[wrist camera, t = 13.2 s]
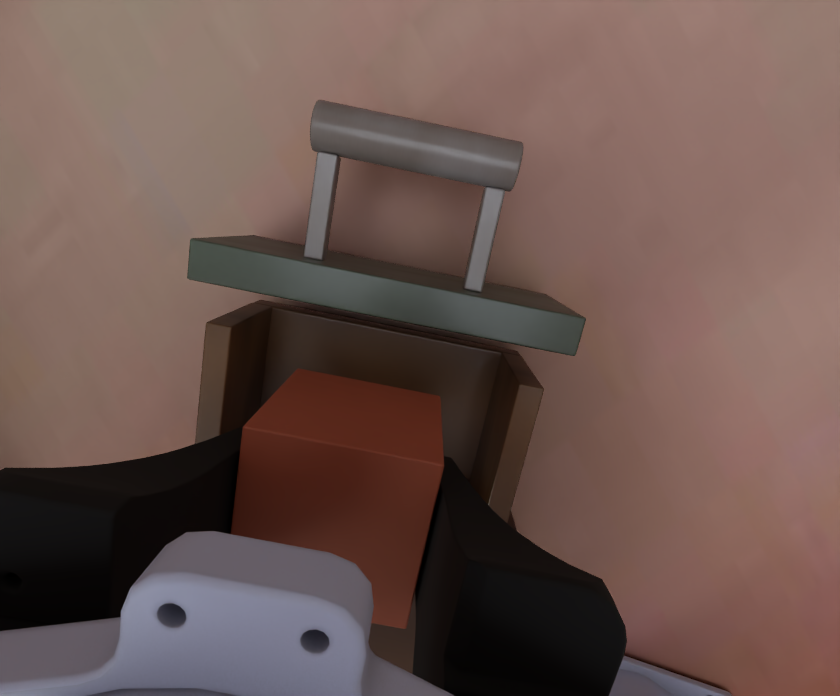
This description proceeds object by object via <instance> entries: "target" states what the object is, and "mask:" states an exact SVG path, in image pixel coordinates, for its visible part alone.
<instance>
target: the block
mask: <svg viewBox="0 0 840 696" xmlns="http://www.w3.org/2000/svg"><path fill="white" fill-rule="evenodd" d="M443 469H444V453H443V435H442V416H441V398H440V396H438V395H433V394H427V393H422V392H417V391H412V390H407V389H402V388H397V387H392V386H387V385H381V384H376V383H371V382H366V381H361V380H356V379H351V378H346V377H341V376H335V375H330V374H325V373H320V372H315V371H310V370H305V369H300V368H298V369H297V370H296V371H295V372H294V373H293V374H292V375H291V376H290V377H289V378H288V379H287V380H286V381H285V382H284V383H283V384H282V386H281V387H280V388H279V389H278V390H277V391H276V392H275V393H274V394H273V395H272V396H271V397H270V398H269V399H268V400H267V402H266V403H265V404H264V405H263V406H262V407H261V408H260V409H259V410H258V411H257V412H256V413H255V414H254V415H253V416H252V418H251V419H250V420H249V421H248V422H247V423H246V424H245V425H244V426H243V430H242V438H241V447H240V455H239V464H238V473H237V481H236V490H235V499H234V507H233V516H232V524H231V533H230V534H233V535H238V536H243V537H249V538H254V539H259V540H265V541H270V542H276V543H281V544H286V545H292V546H297V547H302V548H308V549H313V550H319V551H324V552H329V553H332V554H334V555H337V556H339V557H341V558H344V559H346V560H348V561H351V562H353V563H355V564H356V565H357V566H358V567H359V569H360V570H361V571H362V572H363V574H364V575H365V576H366V577H367V579H368V580H369V581H370V582H371V585H372V595H373V604H374V608H373V614H372V621H371V623H375V624H380V625H386V626H391V627H396V628H402V629H406V627H407V624H408V620H409V615H410V611H411V607H412V602H413V598H414V594H415V590H416V585H417V581H418V577H419V572H420V568H421V564H422V559H423V555H424V551H425V546H426V542H427V538H428V534H429V529H430V525H431V521H432V516H433V512H434V508H435V503H436V499H437V495H438V490H439V486H440V482H441V478H442V473H443Z"/></svg>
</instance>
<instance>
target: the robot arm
mask: <svg viewBox="0 0 840 696" xmlns="http://www.w3.org/2000/svg"><path fill="white" fill-rule="evenodd" d="M242 430H243V426H242V427H239V428H237V429H234V430H232V431H229V432H227V433H224V434H221V435H219V436H216V437H214V438H211V439H208V440H205V441H202V442H200V443H197V444H194V445H191V446H188V447H185V448H182V449H178V450H175V451H171V452H168V453H164V454H159V455H155V456H151V457H146V458H141V459H135V460H129V461H123V462H116V463H110V464H102V465H92V466H79V467H63V468H4V469H2V470H1V471H0V696H732V695H731V693H729V692H727V691H725V690H722V689H719V688H716V687H713V686H710V685H707V684H704V683H702V682H699V681H696V680H693V679H690V678H687V677H684V676H681V675H679V674H676V673H673V672H670V671H667V670H664V669H661V668H658V667H656V666H653V665H650V664H647V663H644V662H641V661H638V660H635V659H633V658H630V657H627V656H624V653H625V648H626V643H627V638H626V629H625V625H624V623H623V620H622V618H621V616H620V614H619V612H618V610H617V607H616V605H615V603H614V601H613V598H612V596H611V595H610V593H609V591H608V589H607V587H606V585H605V584H604V582H603V580H602V579H600V578H598V577H596V576H594V575H591V574H589V573H587V572H585V571H582V570H580V569H578V568H576V567H574V566H571V565H569V564H567V563H565V562H564V561H562V560H560V559H558V558H557V557H555V556H553V555H551V554H549V553H548V552H546V551H545V550H543V549H541V548H540V547H538V546H537V545H535V544H534V543H532V542H531V541H529V540H528V539H527V538H525V537H524V536H522V535H521V534H520V533H518V532H517V531H516V530H515V529H513V528H512V527H511V526H510V525H509V524H508V523H506V522H505V521H504V520H503V519H502V518H501V517H500V516H499V515H498V514H497V513H496V512H494V511H493V510H492V508H491V507H490V506H489V505H488V504H487V503H486V502H485V501H484V500H483V499H482V498H481V496H480V495H479V494H478V493H477V492H476V490H475V489H474V488H473V487H472V485H471V484H470V483H469V481H468V480H467V479H466V477H465V476H464V475H463V473H462V472H461V470H460V469H459V468H458V466H457V465H456V463H455V462H454V460H453V459H452V458H451V457H446V456H444V469H443V473H442V478H441V482H440V486H439V490H438V495H437V499H436V503H435V508H434V512H433V516H432V521H431V525H430V529H429V534H428V538H427V542H426V546H425V551H424V555H423V559H422V564H421V568H420V572H419V577H418V581H417V585H416V590H415V604H416V630H415V644H414V657H413V670H412V674H411V673H409V672H407V671H405V670H403V669H401V668H399V667H397V666H395V665H393V664H391V663H389V662H387V661H386V660H384V659H382V658H380V657H378V656H376V655H375V654H374V653H373V652H372V650H371V649H370V646H369V643H368V641H369V634H370V628H371V621H372V614H373V608H374V604H373V595H372V585H371V582H370V581H369V580H368V579H367V577H366V576H365V575H364V574H363V572H362V571H361V570H360V569H359V567H358V566H357V565H356V564H355V563H353V562H351V561H348V560H346V559H344V558H341V557H339V556H337V555H334V554H332V553H329V552H324V551H319V550H313V549H308V548H302V547H297V546H292V545H286V544H281V543H276V542H270V541H265V540H259V539H254V538H249V537H243V536H238V535H233V534H230V533H231V524H232V516H233V507H234V499H235V490H236V481H237V473H238V464H239V455H240V447H241V438H242Z"/></svg>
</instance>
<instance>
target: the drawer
mask: <svg viewBox="0 0 840 696" xmlns="http://www.w3.org/2000/svg"><path fill="white" fill-rule="evenodd" d="M310 141H311V146H312V149H313V150H314V151H315V152H318V153H317V160H316V167H315V175H314V182H313V189H312V196H311V204H310V211H309V218H308V226H307V233H306V240H305V245H300V244H295V243H290V242H285V241H280V240H275V239H270V238H265V237H260V236H255V235H249V236H229V237H209V238H192V239H191V240H190V250H189V263H188V275H187V278H188V279H190V280H195V281H200V282H205V283H210V284H215V285H220V286H225V287H230V288H235V289H240V290H245V291H250V292H255V293H260V294H265V295H270V296H275V297H280V298H285V299H290V300H295V301H300V302H305V303H310V304H315V305H320V306H325V307H330V308H335V309H340V310H345V311H350V312H355V313H360V314H365V315H370V316H375V317H380V318H385V319H390V320H395V321H400V322H405V323H410V324H415V325H420V326H425V327H430V328H435V329H440V330H445V331H450V332H455V333H460V334H465V335H470V336H475V337H480V338H485V339H490V340H495V341H500V342H505V343H510V344H515V345H520V346H525V347H530V348H535V349H540V350H545V351H551V352H556V353H561V354H566V355H571V356H575V355H576V352H577V349H578V345H579V342H580V338H581V335H582V331H583V328H584V324H585V321H586V318H585V317H583V316H581V315H580V314H578V313H576V312H575V311H573V310H571V309H570V308H568V307H566V306H565V305H563V304H561V303H560V302H558V301H556V300H554V299H553V298H551V297H549V296H548V295H546V294H542V293H537V292H532V291H527V290H522V289H517V288H512V287H507V286H502V285H497V284H493V283H488V282H484V281H485V277H486V272H487V268H488V264H489V259H490V255H491V251H492V246H493V242H494V238H495V233H496V229H497V225H498V220H499V216H500V212H501V207H502V203H503V199H504V194H505V191H508V192H510V191H511V190H512V189H513V187H514V185H515V182H516V179H517V176H518V173H519V169H520V165H521V160H522V155H523V143H522V142H519V141H514V140H509V139H505V138H500V137H495V136H490V135H486V134H481V133H476V132H471V131H467V130H462V129H457V128H452V127H448V126H443V125H438V124H433V123H429V122H424V121H419V120H414V119H410V118H405V117H400V116H395V115H390V114H386V113H381V112H376V111H371V110H367V109H362V108H357V107H352V106H348V105H343V104H338V103H333V102H329V101H324V100H318V101H317V102H316V104H315V106H314V109H313V113H312V118H311V126H310ZM338 156H339V157H338ZM340 157H344V158H349V159H354V160H359V161H363V162H368V163H373V164H378V165H383V166H388V167H392V168H397V169H402V170H407V171H412V172H416V173H421V174H426V175H431V176H436V177H441V178H445V179H450V180H455V181H460V182H465V183H470V184H474V185H479V186H484V187H485V188H484V190H483V194H482V198H481V203H480V207H479V212H478V217H477V221H476V226H475V230H474V235H473V239H472V244H471V248H470V253H469V257H468V262H467V267H466V271H465V276H464V278H463V277H458V276H453V275H448V274H443V273H438V272H433V271H428V270H423V269H418V268H413V267H409V266H404V265H399V264H394V263H389V262H384V261H379V260H374V259H369V258H364V257H359V256H354V255H349V254H344V253H339V252H334V251H330V250H327V249H328V242H329V236H330V229H331V222H332V215H333V209H334V202H335V195H336V188H337V182H338V175H339V168H340V161H341V158H340ZM298 368H300V369H305V370H310V371H315V372H320V373H325V374H330V375H335V376H341V377H346V378H351V379H356V380H361V381H366V382H371V383H376V384H381V385H387V386H392V387H397V388H402V389H407V390H412V391H417V392H422V393H427V394H433V395H438V396H440V398H441V416H442V435H443V453H444V456H446V457H451V458H452V459H453V460H454V462H455V463H456V465H457V466H458V468H459V469H460V470H461V472H462V473H463V475H464V476H465V477H466V479H467V480H468V481H469V483H470V484H471V485H472V487H473V488H474V489H475V490H476V492H477V493H478V494H479V495H480V496H481V498H482V499H483V500H484V501H485V502H486V503H487V504H488V505H489V506H490V507H491V508H492V510H493V511H494V512H496V513H497V514H498V515H499V516H500V517H501V518H502V519H503V520H504V521H505V522H506V523H507V522H508V518H509V515H510V511H511V507H512V504H513V500H514V497H515V493H516V489H517V486H518V482H519V478H520V475H521V471H522V468H523V464H524V460H525V457H526V453H527V449H528V446H529V442H530V439H531V435H532V431H533V428H534V424H535V421H536V417H537V413H538V410H539V406H540V402H541V399H542V395H543V392H544V388H543V387H542V385H541V384H540V383H539V381H538V380H537V378H536V377H535V375H534V374H533V372H532V371H531V369H530V368H529V367H528V365H527V364H526V362H525V361H524V359H523V358H522V357H521V356H520V354H519V353H518V352H517V351H514V350H509V349H504V348H499V347H494V346H489V345H484V344H479V343H474V342H469V341H464V340H459V339H454V338H449V337H444V336H439V335H434V334H429V333H424V332H419V331H414V330H409V329H404V328H399V327H394V326H389V325H384V324H379V323H374V322H369V321H364V320H359V319H354V318H349V317H344V316H339V315H334V314H329V313H323V312H318V311H313V310H308V309H303V308H298V307H293V306H288V305H283V304H278V303H273V302H268V301H263V300H259V301H256V302H254V303H251V304H248V305H246V306H244V307H241V308H239V309H237V310H234V311H232V312H230V313H227V314H225V315H223V316H220V317H218V318H216V319H213V320H211V321H209V322H207V323H206V331H205V341H204V352H203V363H202V374H201V385H200V396H199V407H198V418H197V429H196V440H195V444H197V443H200V442H202V441H205V440H208V439H211V438H214V437H216V436H219V435H221V434H224V433H227V432H229V431H232V430H234V429H237V428H239V427H242V426H244V425H245V424H246V423H247V422H248V421H249V420H250V419H251V418H252V416H253V415H254V414H255V413H256V412H257V411H258V410H259V409H260V408H261V407H262V406H263V405H264V404H265V403H266V402H267V400H268V399H269V398H270V397H271V396H272V395H273V394H274V393H275V392H276V391H277V390H278V389H279V388H280V387H281V386H282V384H283V383H284V382H285V381H286V380H287V379H288V378H289V377H290V376H291V375H292V374H293V373H294V372H295V371H296V370H297V369H298Z"/></svg>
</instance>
